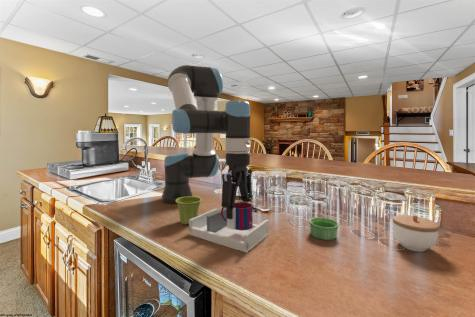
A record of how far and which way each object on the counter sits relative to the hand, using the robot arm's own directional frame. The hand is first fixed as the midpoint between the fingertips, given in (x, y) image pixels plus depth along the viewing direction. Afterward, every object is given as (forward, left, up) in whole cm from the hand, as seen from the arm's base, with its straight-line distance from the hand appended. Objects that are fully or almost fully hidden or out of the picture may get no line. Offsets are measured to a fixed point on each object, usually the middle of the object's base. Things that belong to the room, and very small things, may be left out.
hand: (237, 224), depth 74 cm
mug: (0, 0, -1) cm, 1 cm away
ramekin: (+22, +17, -5) cm, 29 cm away
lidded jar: (+46, +23, -5) cm, 52 cm away
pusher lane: (-4, 0, -4) cm, 6 cm away
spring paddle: (-8, 0, -3) cm, 8 cm away
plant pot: (-23, +1, -5) cm, 23 cm away
